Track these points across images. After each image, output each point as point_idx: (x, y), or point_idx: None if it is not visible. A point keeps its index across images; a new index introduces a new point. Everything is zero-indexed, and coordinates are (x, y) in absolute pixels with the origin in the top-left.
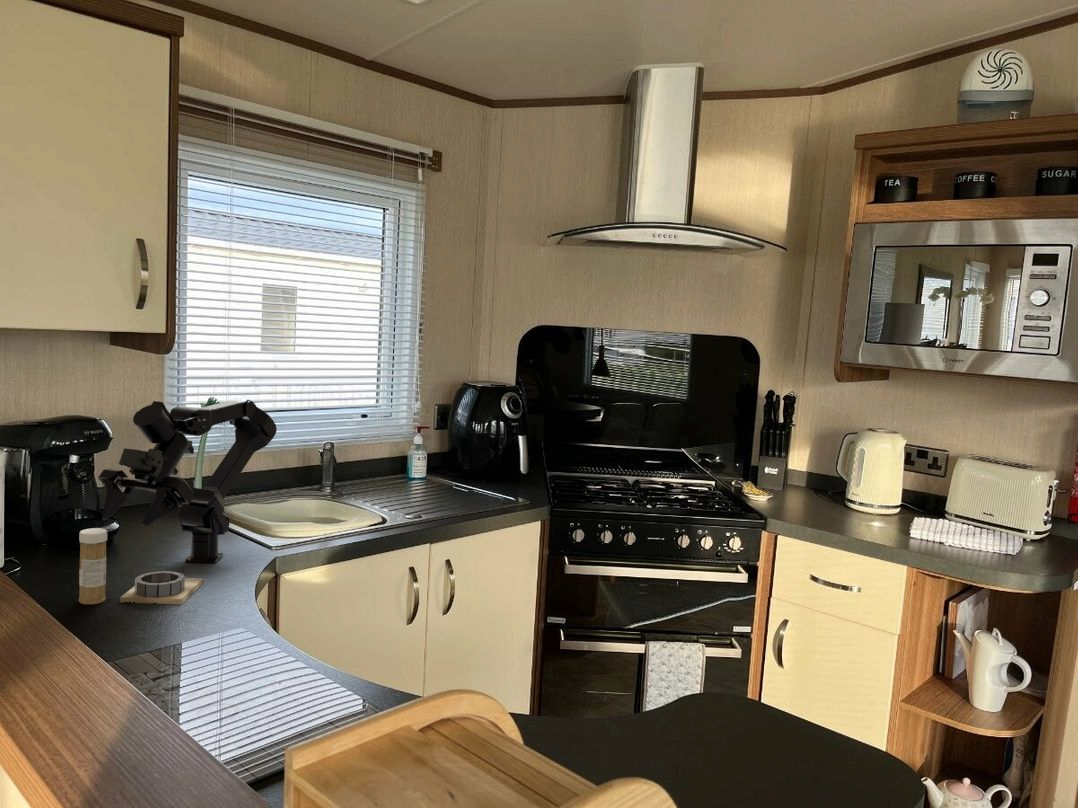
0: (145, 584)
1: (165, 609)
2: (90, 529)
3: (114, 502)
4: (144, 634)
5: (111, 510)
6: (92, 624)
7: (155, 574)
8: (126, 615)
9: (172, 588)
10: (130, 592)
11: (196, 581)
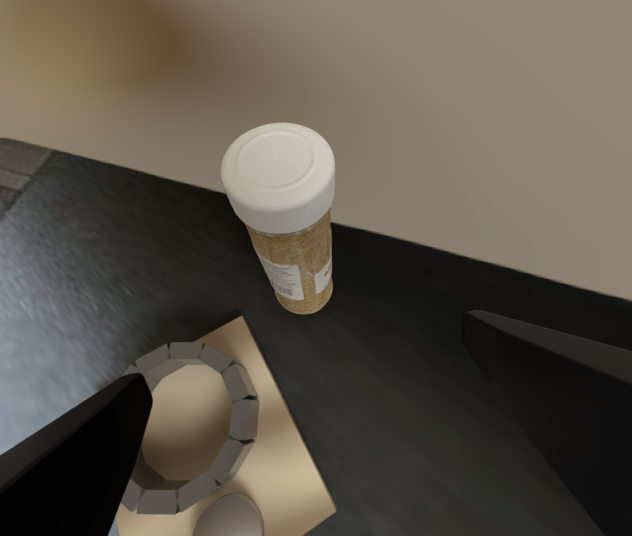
0: (170, 344)
1: (116, 349)
2: (304, 162)
3: (611, 451)
4: (71, 230)
5: (522, 393)
6: (193, 211)
7: (222, 448)
8: (170, 274)
9: None
10: (248, 355)
11: None
